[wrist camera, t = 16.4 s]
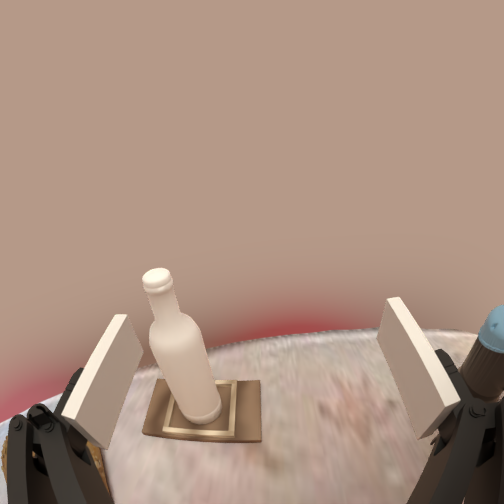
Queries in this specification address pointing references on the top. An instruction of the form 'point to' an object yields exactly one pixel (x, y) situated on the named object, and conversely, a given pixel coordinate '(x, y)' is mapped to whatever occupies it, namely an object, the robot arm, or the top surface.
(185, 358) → the bottle
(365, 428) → the top surface
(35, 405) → the robot arm
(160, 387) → the serving board
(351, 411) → the top surface
